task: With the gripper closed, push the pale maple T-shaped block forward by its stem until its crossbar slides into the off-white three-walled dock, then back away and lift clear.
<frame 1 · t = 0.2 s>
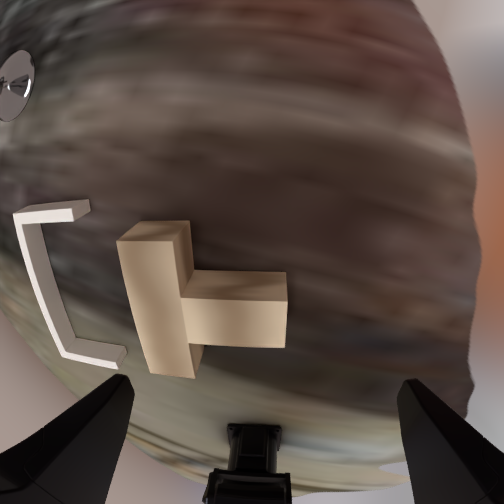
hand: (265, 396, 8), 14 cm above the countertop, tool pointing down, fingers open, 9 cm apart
dock: (81, 284, 24), on the countertop
wine glass: (12, 85, 17), on the countertop
t block: (215, 292, 24), on the countertop
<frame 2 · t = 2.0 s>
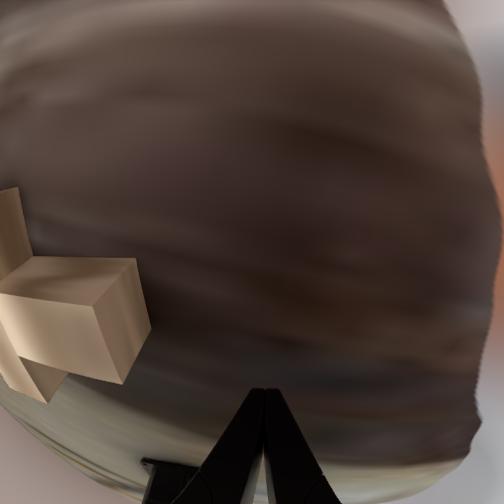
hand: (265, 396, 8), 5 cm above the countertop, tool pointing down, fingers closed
t block: (60, 289, 14), on the countertop
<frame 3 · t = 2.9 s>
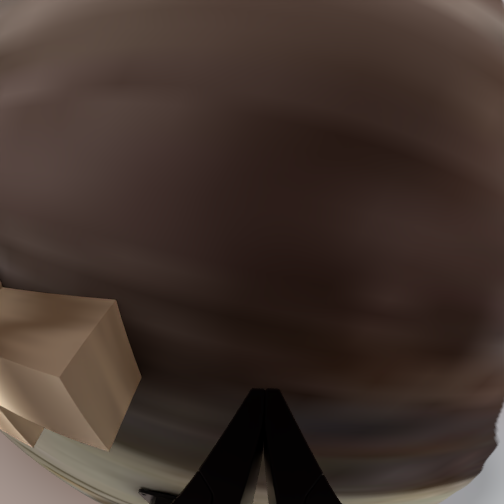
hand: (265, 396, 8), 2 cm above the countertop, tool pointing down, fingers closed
t block: (34, 326, 11), on the countertop
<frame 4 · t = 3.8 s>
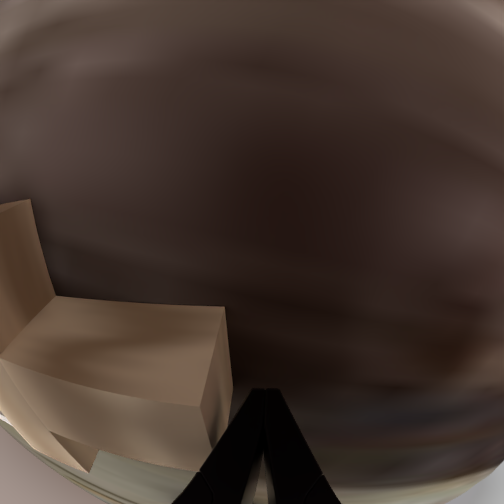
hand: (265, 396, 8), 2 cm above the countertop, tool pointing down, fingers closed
t block: (97, 339, 11), on the countertop, touching gripper
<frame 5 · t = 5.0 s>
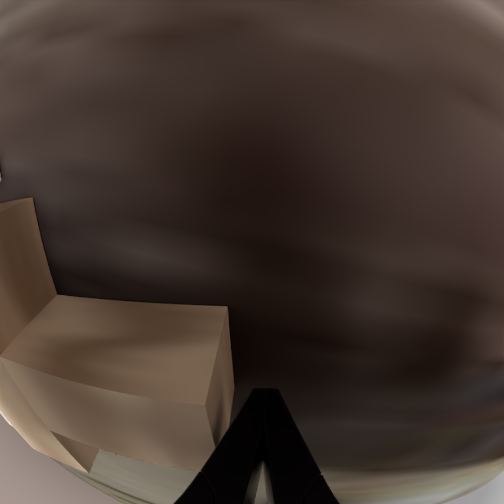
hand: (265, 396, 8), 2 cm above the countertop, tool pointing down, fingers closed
t block: (99, 338, 11), on the countertop, touching gripper
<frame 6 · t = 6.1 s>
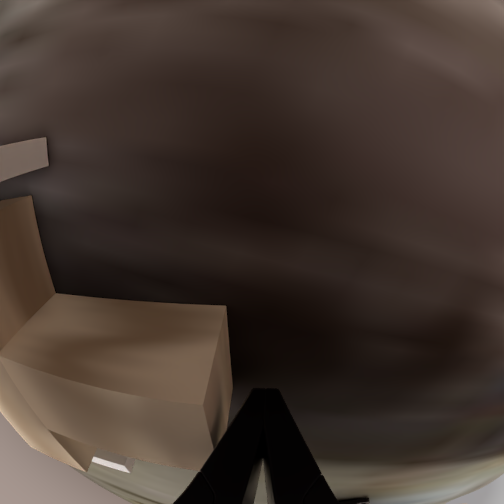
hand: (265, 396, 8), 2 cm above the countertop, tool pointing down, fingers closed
dock: (43, 329, 11), on the countertop
t block: (97, 337, 11), on the countertop, touching gripper
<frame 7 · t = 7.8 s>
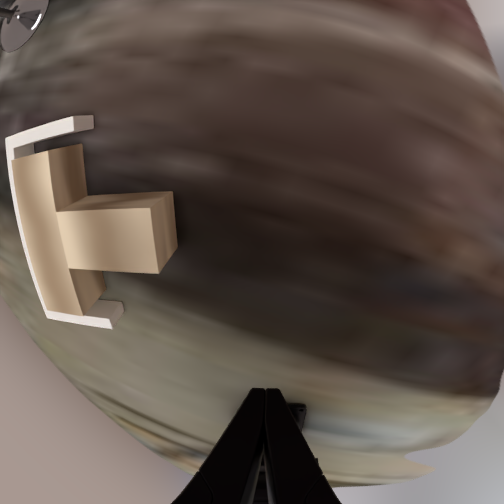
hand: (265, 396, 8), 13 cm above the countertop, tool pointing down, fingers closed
dock: (74, 223, 20), on the countertop
wine glass: (23, 17, 13), on the countertop
t block: (107, 220, 20), on the countertop
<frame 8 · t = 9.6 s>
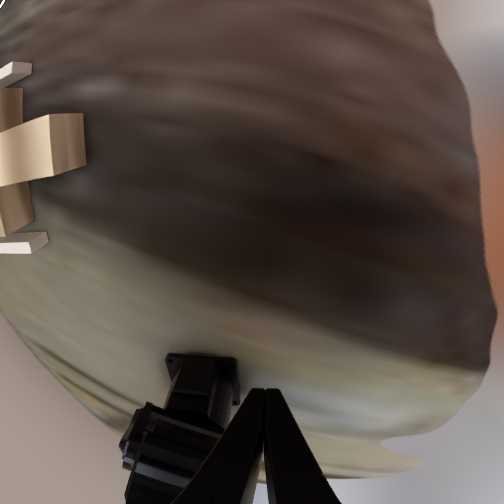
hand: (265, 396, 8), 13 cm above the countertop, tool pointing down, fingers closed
dock: (13, 158, 18), on the countertop
t block: (35, 150, 18), on the countertop
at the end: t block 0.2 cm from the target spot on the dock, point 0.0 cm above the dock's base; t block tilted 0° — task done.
